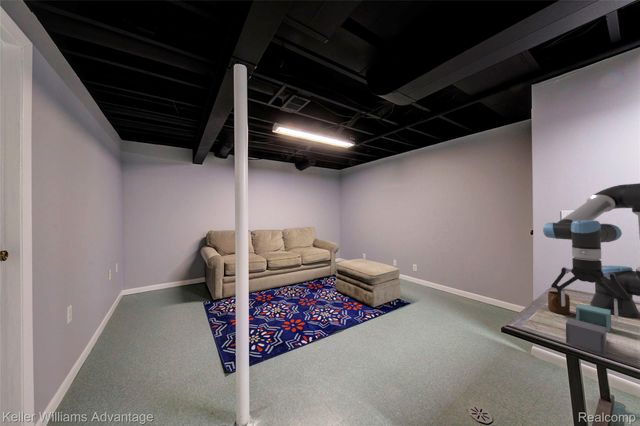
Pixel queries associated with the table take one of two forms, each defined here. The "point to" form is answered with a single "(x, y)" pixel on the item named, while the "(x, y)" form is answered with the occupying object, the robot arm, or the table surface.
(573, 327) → the charcoal cap
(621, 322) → the table surface
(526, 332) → the table surface
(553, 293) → the mug
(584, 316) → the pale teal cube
